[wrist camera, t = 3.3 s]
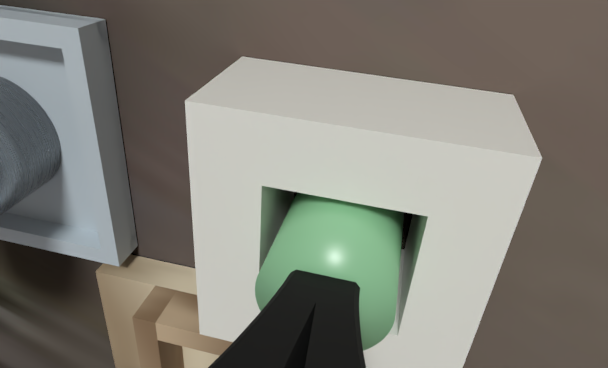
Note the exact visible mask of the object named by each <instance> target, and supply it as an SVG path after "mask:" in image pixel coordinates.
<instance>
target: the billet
mask: <svg viewBox="0 0 608 368" xmlns="http://www.w3.org/2000/svg"><path fill="white" fill-rule="evenodd" d="M61 157H62V156H61V145H60V140H59V137H58V134H57V131H56V129H55V127H54V125H53V123H52V121H51V119H50V118H49V116H48V115H47V113H46V112H45V111H44V109H43V108H42V107H41V105H40V104H39V103H38V102H37V101H36V100H35V99H34V98H33V97H32V96H31V95H30V94H29V93H28V92H26V91H25V90H24V89H22V88H21V87H20V86H18V85H16V84H15V83H13V82H11V81H9V80H7V79H5V78H3V77H0V215H2V214H3V213H5V212H6V211H7V210H9V209H10V208H12V207H13V206H14V205H16V204H17V203H19V202H20V201H22V200H23V199H24V198H26V197H27V196H29V195H30V194H31V193H33V192H34V191H36V190H37V189H39V188H40V187H41V186H43V185H44V184H46V183H47V182H48V181H50V180H51V179H52V178H53V177H54V176H55V175H56V174H57V172H58V170H59V167H60V164H61Z"/></svg>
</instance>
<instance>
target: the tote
mask: <svg viewBox="0 0 608 368" xmlns="http://www.w3.org/2000/svg"><path fill="white" fill-rule="evenodd" d="M0 77H3V78H5V79H7V80H9V81H11V82H13V83H15V84H16V85H18V86H20V87H21V88H22V89H24V90H25V91H26V92H28V93H29V94H30V95H31V96H32V97H33V98H34V99H35V100H36V101H37V102H38V103H39V104H40V105H41V107H42V108H43V109H44V111H45V112H46V113H47V115H48V116H49V118H50V119H51V121H52V123H53V125H54V127H55V129H56V131H57V134H58V137H59V140H60V145H61V156H62V157H61V164H60V167H59V170H58V172H57V174H56V175H55V176H54V177H53V178H52V179H51V180H50V181H48V182H47V183H46V184H44V185H43V186H41V187H40V188H39V189H37V190H36V191H34V192H33V193H31V194H30V195H29V196H27V197H26V198H24V199H23V200H22V201H20V202H19V203H17V204H16V205H14V206H13V207H12V208H10V209H9V210H7V211H6V212H5V213H3V214H2V215H0V240H4V241H8V242H13V243H17V244H22V245H26V246H30V247H35V248H39V249H44V250H48V251H52V252H57V253H61V254H66V255H70V256H75V257H79V258H83V259H88V260H92V261H97V262H101V263H105V264H110V265H114V266H119V267H120V265H121V264H122V263H123V262H124V261H125V260H126V259H127V257H128V256H129V255H130V254H131V253H132V252H133V251H134V249H135V248H136V247H137V246H138V244H137V237H136V230H135V223H134V216H133V209H132V202H131V195H130V188H129V181H128V174H127V167H126V160H125V153H124V146H123V139H122V132H121V125H120V118H119V111H118V104H117V97H116V90H115V83H114V76H113V69H112V62H111V55H110V48H109V41H108V34H107V27H106V20H105V19H100V18H93V17H85V16H78V15H70V14H63V13H55V12H48V11H41V10H33V9H26V8H18V7H11V6H3V5H0Z"/></svg>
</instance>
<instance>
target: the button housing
mask: <svg viewBox="0 0 608 368" xmlns="http://www.w3.org/2000/svg"><path fill="white" fill-rule="evenodd" d="M185 111H186V127H187V142H188V158H189V174H190V190H191V205H192V221H193V237H194V252H195V268H196V284H197V300H198V315H199V331H200V334H201V335H205V336H210V337H214V338H218V339H222V340H226V341H230V342H234V341H235V340H236V339H237V338H238V336H239V335H240V334H241V333H242V332H243V331H244V330H245V329H246V328H247V327H248V325H249V324H250V323H251V322H252V321H253V320H254V319H255V318H256V317H257V315H258V314H259V313H260V312H261V311H260V309H259V307H258V304H257V301H256V297H255V283H256V279H257V276H258V274H259V272H260V269H261V267H262V265H263V263H264V261H265V259H266V257H267V255H268V253H269V250H270V248H271V246H272V244H273V242H274V240H275V238H276V236H277V234H278V232H279V229H280V227H281V225H282V223H283V221H284V219H285V217H286V215H287V213H288V210H289V208H290V206H291V204H292V202H293V200H294V192H298V193H304V194H309V195H315V196H320V197H325V198H331V199H336V200H341V201H347V202H352V203H358V204H363V205H368V206H374V207H379V208H384V209H390V210H395V211H400V212H406V213H411V214H412V219H411V223H410V227H409V232H408V236H407V240H406V244H405V249H401V258H400V269H399V281H398V293H397V304H396V315H395V321H394V324H393V327H392V328H391V330H390V332H389V333H388V334H387V336H386V337H385V338H384V339H383V340H382V341H381V342H379V343H378V344H376V345H375V346H373V347H371V348H369V349H367V350H364V351H363V353H364V359H365V365H366V368H463V365H464V362H465V360H466V357H467V355H468V352H469V349H470V347H471V344H472V341H473V339H474V336H475V334H476V331H477V328H478V326H479V323H480V320H481V318H482V315H483V312H484V310H485V307H486V305H487V302H488V299H489V297H490V294H491V291H492V289H493V286H494V283H495V281H496V278H497V276H498V273H499V270H500V268H501V265H502V262H503V260H504V257H505V255H506V252H507V249H508V247H509V244H510V241H511V239H512V236H513V233H514V231H515V228H516V226H517V223H518V220H519V218H520V215H521V212H522V210H523V207H524V205H525V202H526V199H527V197H528V194H529V191H530V189H531V186H532V183H533V181H534V178H535V176H536V173H537V170H538V168H539V165H540V162H541V160H542V157H541V154H540V152H539V150H538V148H537V146H536V143H535V141H534V139H533V137H532V135H531V132H530V130H529V128H528V126H527V124H526V122H525V119H524V117H523V115H522V113H521V111H520V108H519V106H518V104H517V102H516V100H515V97H514V95H511V94H504V93H497V92H490V91H483V90H476V89H469V88H461V87H454V86H447V85H440V84H433V83H426V82H419V81H412V80H405V79H398V78H391V77H384V76H377V75H369V74H362V73H355V72H348V71H341V70H334V69H327V68H320V67H313V66H306V65H299V64H292V63H285V62H278V61H270V60H263V59H256V58H249V57H241V58H240V59H238V60H237V61H236V62H235V63H233V64H232V65H231V66H229V67H228V68H227V69H225V70H224V71H223V72H222V73H220V74H219V75H218V76H216V77H215V78H214V79H212V80H211V81H210V82H209V83H207V84H206V85H205V86H203V87H202V88H201V89H199V90H198V91H197V92H196V93H194V94H193V95H192V96H190V97H189V98H188V99H186V100H185Z"/></svg>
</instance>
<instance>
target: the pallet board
mask: <svg viewBox="0 0 608 368" xmlns="http://www.w3.org/2000/svg"><path fill="white" fill-rule="evenodd" d="M96 276H97V281H98V286H99V291H100V295H101V300H102V305H103V310H104V314H105V319H106V324H107V329H108V333H109V338H110V343H111V348H112V352H113V357H114V362H115V367H116V368H208V367H209V366H210V365H211V364H212V363H213V362H214V361H215V360H216V359H217V358H218V357H219V356H220V355H221V354H222V353H223V352H224V351H225V350H226V349H227V348H228V347H229V346H230V345H231V344H232V343H233V342H230V341H226V340H222V339H218V338H214V337H210V336H205V335H201V334H200V331H199V315H198V300H197V284H196V269H195V268H190V267H186V266H181V265H176V264H172V263H167V262H163V261H158V260H154V259H149V258H145V257H140V256H136V255H131V254H130V255H129V256H128V257H127V259H126V260H125V261H124V262H123V263H122V264H121V265H120V267H119V266H114V265H110V264H105V263H103V264H102V265H101V266H100V267H99V268H98V269H97V271H96Z"/></svg>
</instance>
